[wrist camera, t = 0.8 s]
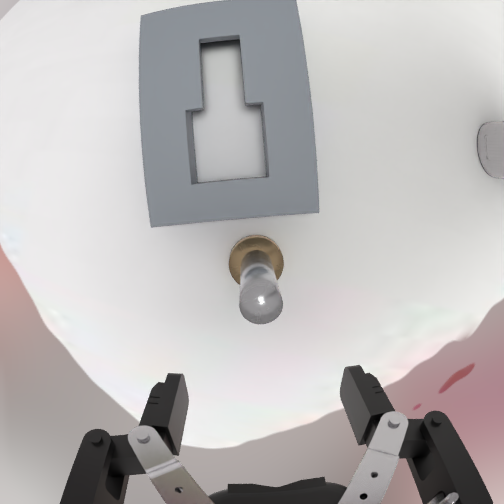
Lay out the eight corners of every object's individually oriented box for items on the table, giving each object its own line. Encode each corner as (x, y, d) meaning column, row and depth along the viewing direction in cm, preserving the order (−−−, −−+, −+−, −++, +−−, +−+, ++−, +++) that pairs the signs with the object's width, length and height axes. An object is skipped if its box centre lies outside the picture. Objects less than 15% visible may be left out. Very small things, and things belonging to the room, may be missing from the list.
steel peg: (280, 233, 34) (298, 266, 23) (283, 282, 36) (299, 333, 24) (227, 237, 34) (218, 272, 23) (232, 286, 36) (227, 340, 24)
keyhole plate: (290, 13, 26) (295, -2, 22) (310, 207, 33) (319, 212, 29) (150, 28, 26) (140, 15, 22) (161, 220, 33) (151, 227, 29)
